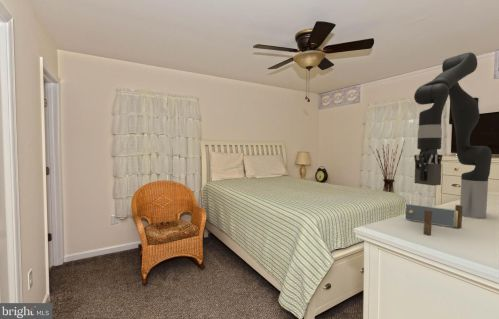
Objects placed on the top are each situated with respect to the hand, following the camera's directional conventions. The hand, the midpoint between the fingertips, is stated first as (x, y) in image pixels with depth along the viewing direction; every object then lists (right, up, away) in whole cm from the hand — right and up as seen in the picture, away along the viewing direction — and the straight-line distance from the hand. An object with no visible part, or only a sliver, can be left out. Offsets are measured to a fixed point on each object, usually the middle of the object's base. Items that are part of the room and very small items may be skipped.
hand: (427, 180), depth 95 cm
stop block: (0, -1, 0) cm, 1 cm away
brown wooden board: (+5, -19, -1) cm, 20 cm away
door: (+6, -19, +7) cm, 21 cm away
